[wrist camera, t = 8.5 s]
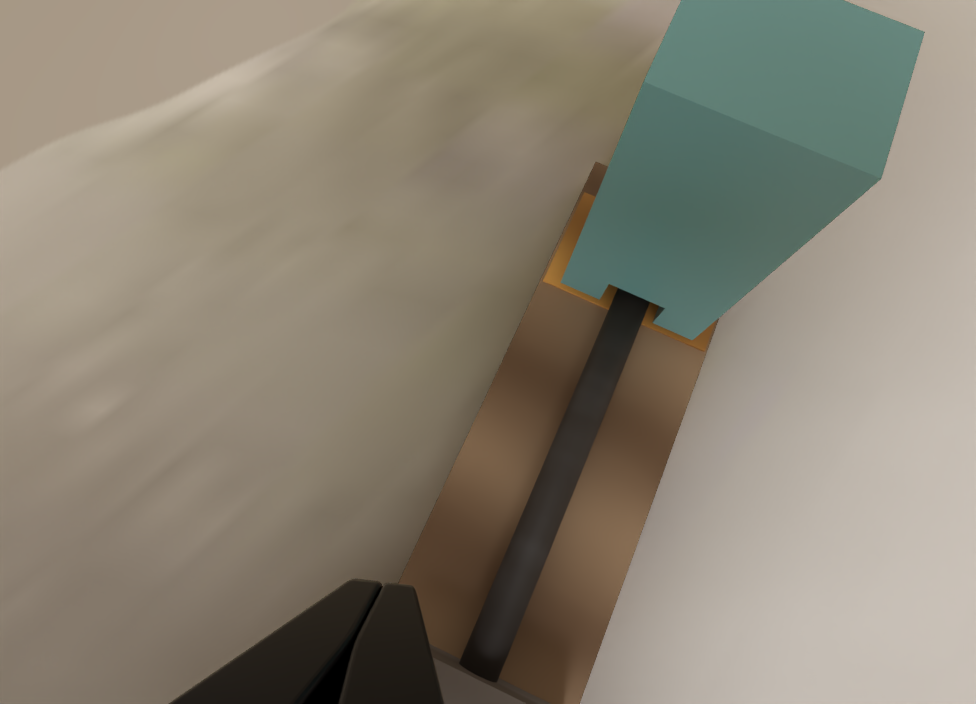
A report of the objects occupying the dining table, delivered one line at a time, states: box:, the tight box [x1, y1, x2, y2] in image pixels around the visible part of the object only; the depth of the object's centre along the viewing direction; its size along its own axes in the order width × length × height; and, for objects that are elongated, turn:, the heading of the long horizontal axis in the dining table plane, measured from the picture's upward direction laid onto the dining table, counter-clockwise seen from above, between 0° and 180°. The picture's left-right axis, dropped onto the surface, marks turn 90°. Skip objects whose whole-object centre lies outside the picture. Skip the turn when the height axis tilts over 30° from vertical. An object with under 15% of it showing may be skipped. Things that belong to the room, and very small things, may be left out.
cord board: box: [398, 162, 719, 704], centre depth 21 cm, size 20×6×4 cm, turn 156°
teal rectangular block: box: [560, 0, 925, 340], centre depth 18 cm, size 4×5×10 cm
